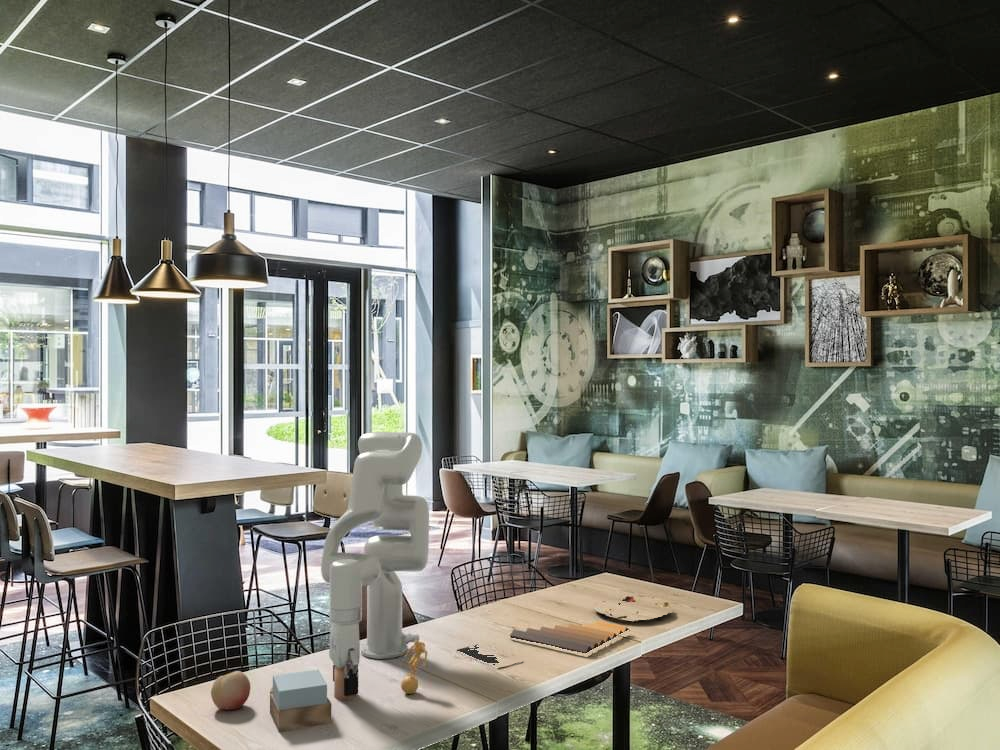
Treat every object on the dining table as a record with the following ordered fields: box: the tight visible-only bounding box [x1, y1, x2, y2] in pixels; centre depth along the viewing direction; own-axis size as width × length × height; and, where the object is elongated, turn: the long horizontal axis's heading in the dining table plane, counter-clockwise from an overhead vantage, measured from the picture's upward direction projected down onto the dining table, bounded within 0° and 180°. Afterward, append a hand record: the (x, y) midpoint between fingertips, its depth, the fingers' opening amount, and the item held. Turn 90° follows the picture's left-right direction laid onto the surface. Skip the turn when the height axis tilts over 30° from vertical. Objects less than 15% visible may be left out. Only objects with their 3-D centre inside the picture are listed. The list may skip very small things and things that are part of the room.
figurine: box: [400, 640, 428, 695], centre depth 187 cm, size 8×6×12 cm
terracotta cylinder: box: [333, 663, 357, 701], centre depth 185 cm, size 5×5×7 cm
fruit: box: [210, 670, 251, 711], centre depth 178 cm, size 8×8×8 cm
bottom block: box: [269, 693, 332, 733], centre depth 173 cm, size 11×11×4 cm
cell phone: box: [456, 644, 499, 665], centre depth 213 cm, size 9×18×1 cm, turn 39°
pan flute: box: [509, 621, 630, 653], centre depth 229 cm, size 25×3×25 cm
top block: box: [272, 669, 328, 711], centre depth 173 cm, size 10×10×4 cm
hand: (345, 687), depth 185 cm, fingers open, 9 cm apart
